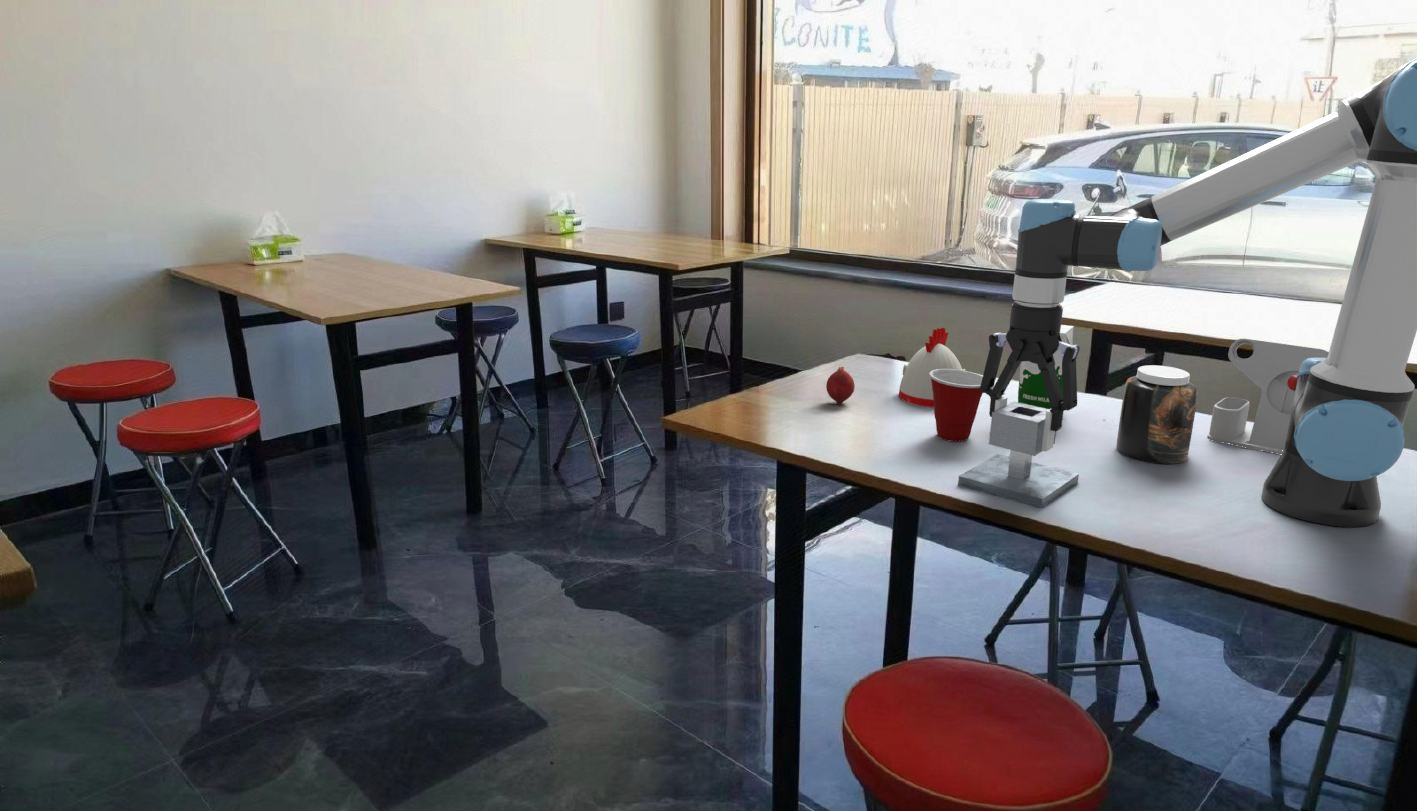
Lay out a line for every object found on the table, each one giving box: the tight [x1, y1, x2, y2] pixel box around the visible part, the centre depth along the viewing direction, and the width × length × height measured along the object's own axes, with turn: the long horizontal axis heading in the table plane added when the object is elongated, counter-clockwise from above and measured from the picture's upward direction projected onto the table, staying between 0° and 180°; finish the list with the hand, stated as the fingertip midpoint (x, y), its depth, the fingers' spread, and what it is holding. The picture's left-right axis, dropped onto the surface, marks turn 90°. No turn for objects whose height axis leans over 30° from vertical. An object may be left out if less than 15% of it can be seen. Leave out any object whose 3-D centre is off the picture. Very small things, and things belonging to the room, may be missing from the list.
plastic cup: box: [929, 369, 984, 442], centre depth 171 cm, size 11×11×12 cm
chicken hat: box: [898, 327, 967, 408], centre depth 195 cm, size 14×14×15 cm
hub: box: [988, 401, 1057, 457], centre depth 147 cm, size 8×8×6 cm
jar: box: [1116, 364, 1198, 465], centre depth 162 cm, size 12×12×15 cm
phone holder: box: [1206, 338, 1329, 454], centre depth 166 cm, size 17×10×18 cm, turn 47°
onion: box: [825, 365, 855, 404], centre depth 191 cm, size 6×6×8 cm
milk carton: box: [1017, 324, 1075, 409], centre depth 182 cm, size 9×9×20 cm
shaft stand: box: [957, 450, 1080, 509], centre depth 149 cm, size 14×14×8 cm
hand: (1022, 442), depth 148 cm, fingers closed on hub, 8 cm apart
